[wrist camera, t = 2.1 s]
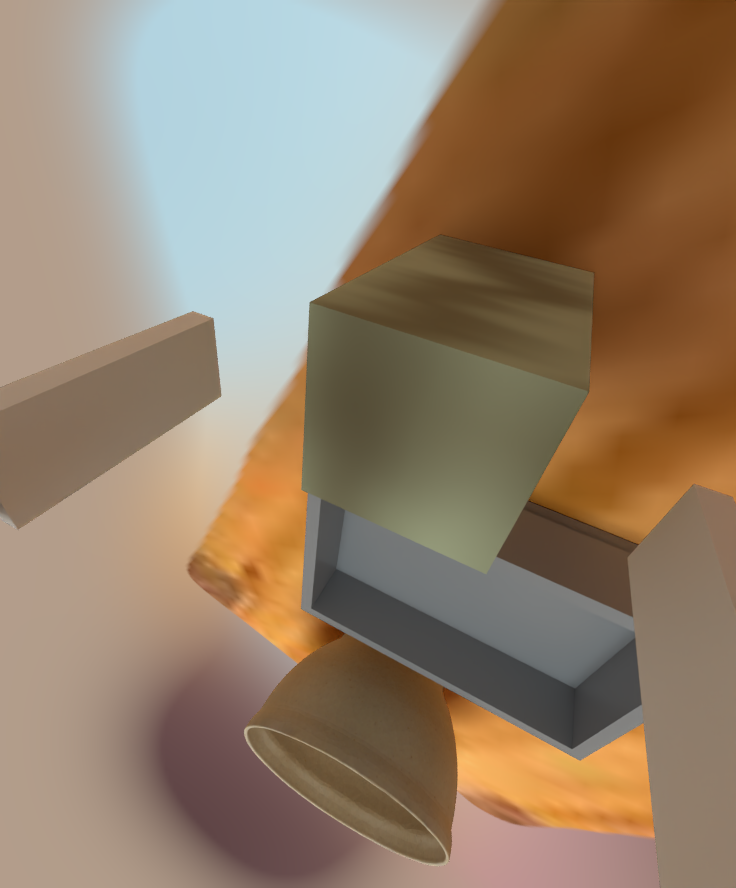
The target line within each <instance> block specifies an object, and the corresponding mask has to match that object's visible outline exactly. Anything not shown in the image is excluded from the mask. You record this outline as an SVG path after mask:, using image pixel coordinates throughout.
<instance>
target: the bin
mask: <svg viewBox="0 0 736 888" xmlns="http://www.w3.org/2000/svg"><path fill="white" fill-rule="evenodd" d="M637 546H638V545H637V544H634V543H632V542H629V541H627V540H624V539H622V538H619V537H617V536H614V535H612V534H609V533H607V532H604V531H602V530H599V529H597V528H594V527H592V526H589V525H587V524H584V523H582V522H579V521H577V520H574V519H572V518H569V517H567V516H564V515H562V514H559V513H557V512H554V511H552V510H549V509H547V508H544V507H542V506H539V505H537V504H534V503H532V502H529V501H527V503H526V505H525V506H524V508H523V510H522V512H521V513H520V515H519V517H518V519H517V521H516V522H515V524H514V526H513V528H512V529H511V531H510V533H509V535H508V537H507V538H506V540H505V542H504V544H503V545H502V547H501V549H500V551H499V553H498V554H497V556H496V558H495V560H494V561H493V563H492V565H491V567H490V568H489V570H488V572H487V574H484V573H482V572H480V571H478V570H476V569H473V568H471V567H469V566H467V565H465V564H462V563H460V562H458V561H456V560H454V559H451V558H449V557H447V556H445V555H443V554H441V553H438V552H436V551H434V550H432V549H430V548H427V547H425V546H423V545H421V544H419V543H416V542H414V541H412V540H410V539H408V538H406V537H403V536H401V535H399V534H397V533H395V532H392V531H390V530H388V529H386V528H384V527H381V526H379V525H377V524H375V523H373V522H371V521H368V520H366V519H364V518H362V517H360V516H357V515H355V514H353V513H351V512H349V511H347V510H344V509H342V508H340V507H338V506H336V505H333V504H331V503H329V502H327V501H325V500H322V499H320V498H318V497H316V496H314V495H312V494H309V493H308V501H307V518H306V535H305V552H304V569H303V586H302V603H301V609H302V610H304V611H306V612H308V613H309V614H311V615H313V616H315V617H317V618H319V619H320V620H322V621H324V622H326V623H328V624H330V625H331V626H333V627H335V628H337V629H339V630H341V631H343V632H344V633H346V634H348V635H350V636H352V637H354V638H355V639H357V640H359V641H361V642H363V643H365V644H366V645H368V646H370V647H372V648H374V649H376V650H377V651H379V652H381V653H383V654H385V655H387V656H388V657H390V658H392V659H394V660H396V661H398V662H399V663H401V664H403V665H405V666H407V667H409V668H411V669H412V670H414V671H416V672H418V673H420V674H422V675H423V676H425V677H427V678H429V679H431V680H433V681H434V682H436V683H438V684H440V685H442V686H444V687H445V688H447V689H449V690H451V691H453V692H455V693H456V694H458V695H460V696H462V697H464V698H466V699H467V700H469V701H471V702H473V703H475V704H477V705H479V706H480V707H482V708H484V709H486V710H488V711H490V712H491V713H493V714H495V715H497V716H499V717H501V718H502V719H504V720H506V721H508V722H510V723H512V724H513V725H515V726H517V727H519V728H521V729H523V730H524V731H526V732H528V733H530V734H532V735H534V736H535V737H537V738H539V739H541V740H543V741H545V742H547V743H548V744H550V745H552V746H554V747H556V748H558V749H559V750H561V751H563V752H565V753H567V754H569V755H570V756H572V757H574V758H576V759H578V760H582V759H583V758H585V757H587V756H588V755H590V754H592V753H593V752H595V751H597V750H599V749H600V748H602V747H604V746H605V745H607V744H609V743H610V742H612V741H614V740H615V739H617V738H619V737H620V736H622V735H624V734H626V733H627V732H629V731H631V730H632V729H634V728H636V727H637V726H639V725H641V724H642V723H644V721H643V711H642V701H641V691H640V681H639V670H638V660H637V650H636V640H635V630H634V620H633V610H632V600H631V589H630V579H629V569H628V559H627V558H628V556H629V555H630V554H631V553H632V552H633V551H634V550H635V549H636V548H637Z"/></svg>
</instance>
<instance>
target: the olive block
mask: <svg viewBox="0 0 736 888" xmlns="http://www.w3.org/2000/svg"><path fill="white" fill-rule="evenodd" d="M593 292H594V273H593V272H589V271H585V270H581V269H577V268H573V267H569V266H565V265H561V264H557V263H553V262H549V261H545V260H541V259H537V258H533V257H529V256H525V255H521V254H517V253H513V252H508V251H504V250H500V249H496V248H492V247H488V246H484V245H480V244H476V243H472V242H468V241H464V240H460V239H456V238H452V237H448V236H444V235H438V236H436V237H434V238H433V239H431V240H429V241H427V242H425V243H423V244H421V245H419V246H417V247H415V248H413V249H411V250H409V251H407V252H406V253H404V254H402V255H400V256H398V257H396V258H394V259H392V260H390V261H388V262H386V263H384V264H382V265H381V266H379V267H377V268H375V269H373V270H371V271H369V272H367V273H365V274H363V275H361V276H359V277H357V278H356V279H354V280H352V281H350V282H348V283H346V284H344V285H342V286H340V287H338V288H336V289H334V290H332V291H330V292H329V293H327V294H325V295H323V296H321V297H319V298H317V299H315V300H313V301H311V302H310V308H309V329H308V352H307V375H306V398H305V421H304V444H303V467H302V490H303V491H305V492H307V493H309V494H312V495H314V496H316V497H318V498H320V499H322V500H325V501H327V502H329V503H331V504H333V505H336V506H338V507H340V508H342V509H344V510H347V511H349V512H351V513H353V514H355V515H357V516H360V517H362V518H364V519H366V520H368V521H371V522H373V523H375V524H377V525H379V526H381V527H384V528H386V529H388V530H390V531H392V532H395V533H397V534H399V535H401V536H403V537H406V538H408V539H410V540H412V541H414V542H416V543H419V544H421V545H423V546H425V547H427V548H430V549H432V550H434V551H436V552H438V553H441V554H443V555H445V556H447V557H449V558H451V559H454V560H456V561H458V562H460V563H462V564H465V565H467V566H469V567H471V568H473V569H476V570H478V571H480V572H482V573H484V574H487V572H488V570H489V568H490V567H491V565H492V563H493V561H494V560H495V558H496V556H497V554H498V553H499V551H500V549H501V547H502V545H503V544H504V542H505V540H506V538H507V537H508V535H509V533H510V531H511V529H512V528H513V526H514V524H515V522H516V521H517V519H518V517H519V515H520V513H521V512H522V510H523V508H524V506H525V505H526V503H527V501H528V499H529V498H530V496H531V494H532V492H533V490H534V489H535V487H536V485H537V483H538V482H539V480H540V478H541V476H542V474H543V473H544V471H545V469H546V467H547V466H548V464H549V462H550V460H551V458H552V457H553V455H554V453H555V451H556V450H557V448H558V446H559V444H560V443H561V441H562V439H563V437H564V435H565V434H566V432H567V430H568V428H569V427H570V425H571V423H572V421H573V419H574V418H575V416H576V414H577V412H578V411H579V409H580V407H581V405H582V403H583V402H584V400H585V398H586V396H587V395H588V393H589V384H590V361H591V338H592V315H593Z"/></svg>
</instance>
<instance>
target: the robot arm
mask: <svg viewBox="0 0 736 888" xmlns="http://www.w3.org/2000/svg"><path fill="white" fill-rule="evenodd" d="M219 397H221V388H220V378H219V368H218V358H217V349H216V340H215V330H214V320H213V318H211V317H208V316H205V315H202V314H199V313H196V312H193V311H192V312H190V313H187V314H185V315H182V316H180V317H177V318H175V319H172V320H170V321H167V322H164V323H162V324H159V325H157V326H154V327H152V328H149V329H147V330H144V331H142V332H139V333H136V334H134V335H132V336H129V337H126V338H124V339H121V340H119V341H116V342H114V343H111V344H109V345H106V346H103V347H101V348H98V349H96V350H93V351H91V352H88V353H86V354H83V355H81V356H78V357H76V358H73V359H71V360H68V361H65V362H63V363H60V364H58V365H55V366H53V367H50V368H48V369H45V370H43V371H40V372H38V373H35V374H32V375H30V376H27V377H25V378H22V379H20V380H17V381H15V382H12V383H10V384H7V385H5V386H2V387H0V520H2V521H4V522H5V523H7V524H9V525H11V526H12V527H14V528H16V529H20V528H21V527H23V526H24V525H26V524H27V523H29V522H30V521H32V520H33V519H35V518H36V517H38V516H40V515H41V514H43V513H44V512H46V511H47V510H49V509H50V508H52V507H53V506H55V505H56V504H58V503H59V502H61V501H62V500H63V499H65V498H67V497H68V496H70V495H72V494H73V493H75V492H76V491H78V490H79V489H81V488H82V487H84V486H85V485H87V484H88V483H90V482H91V481H93V480H94V479H96V478H97V477H99V476H100V475H102V474H103V473H105V472H107V471H108V470H110V469H111V468H113V467H114V466H116V465H117V464H119V463H120V462H122V461H123V460H125V459H126V458H128V457H129V456H131V455H132V454H134V453H135V452H137V451H139V450H140V449H141V448H143V447H144V446H146V445H148V444H149V443H151V442H152V441H154V440H155V439H157V438H158V437H160V436H161V435H163V434H164V433H166V432H167V431H169V430H171V429H172V428H173V427H175V426H176V425H178V424H180V423H181V422H183V421H184V420H186V419H187V418H189V417H190V416H192V415H193V414H195V413H196V412H198V411H199V410H201V409H202V408H204V407H206V406H207V405H209V404H210V403H212V402H213V401H215V400H216V399H218V398H219ZM627 559H628V569H629V579H630V589H631V600H632V610H633V620H634V630H635V640H636V650H637V660H638V670H639V681H640V691H641V701H642V711H643V721H644V731H645V741H646V751H647V762H648V772H649V782H650V792H651V802H652V812H653V822H654V832H655V842H656V853H657V863H658V873H659V882H660V888H736V504H735V502H734V499H733V497H731V496H728V495H725V494H722V493H719V492H716V491H713V490H710V489H708V488H705V487H702V486H699V485H696V484H693V485H692V487H691V488H690V489H689V490H688V491H687V492H686V493H685V494H684V495H683V497H682V498H681V499H680V500H679V501H678V502H677V503H676V504H675V505H674V507H673V508H672V509H671V510H670V511H669V512H668V513H667V514H666V515H665V516H664V518H663V519H662V520H661V521H660V522H659V523H658V524H657V525H656V526H655V528H654V529H653V530H652V531H651V532H650V533H649V534H648V535H647V536H646V538H645V539H644V540H643V541H642V542H641V543H640V544H639V545H638V546H637V548H636V549H635V550H634V551H633V552H632V553H631V554H630V555H629V556H628V558H627Z"/></svg>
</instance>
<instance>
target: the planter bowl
mask: <svg viewBox="0 0 736 888" xmlns="http://www.w3.org/2000/svg"><path fill="white" fill-rule="evenodd" d="M443 688H444V686H442V685H440V684H438V683H436V682H434V681H433V680H431V679H429V678H427V677H425V676H423V675H422V674H420V673H418V672H416V671H414V670H412V669H411V668H409V667H407V666H405V665H403V664H401V663H399V662H398V661H396V660H394V659H392V658H390V657H388V656H387V655H385V654H383V653H381V652H379V651H377V650H376V649H374V648H372V647H370V646H368V645H366V644H365V643H363V642H361V641H359V640H357V639H355V638H354V637H352V636H350V635H348V634H346V633H345V634H344V635H343V636H342V637H341V638H340V639H337V640H335V641H332V642H330V643H328V644H326V645H324V646H322V647H321V648H319V649H317V650H316V651H314V652H313V653H311V654H310V655H309V656H307V657H306V658H305V659H303V660H302V661H301V662H300V663H298V664H297V665H296V666H295V667H294V668H293V669H292V670H291V671H290V672H289V673H288V674H287V675H286V676H285V677H284V678H283V679H282V681H281V682H280V683H279V684H278V685H277V686H276V688H275V689H274V690H273V692H272V693H271V695H270V696H269V698H268V699H267V700H266V702H265V704H264V705H263V707H262V708H261V710H260V711H259V712H258V713H257V714H256V715H255V716H254V717H253V718H252V719H251V720H250V722H249V723H248V725H247V726H246V728H245V730H244V735H245V738H246V741H247V743H248V745H249V746H250V748H251V749H252V751H253V752H254V753H255V754H256V755H257V756H258V758H260V760H261V761H262V762H263V763H264V764H265V765H266V766H267V767H268V768H269V769H270V770H271V771H272V772H273V773H274V774H275V775H276V776H278V777H279V778H280V779H281V780H282V781H283V782H285V783H286V784H287V785H288V786H289V787H291V788H292V789H293V790H294V791H296V792H297V793H298V794H299V795H301V796H302V797H304V798H305V799H306V800H308V801H309V802H310V803H312V804H313V805H314V806H316V807H318V808H319V809H320V810H322V811H323V812H325V813H326V814H328V815H329V816H331V817H333V818H334V819H336V820H337V821H339V822H341V823H342V824H344V825H345V826H347V827H349V828H350V829H352V830H354V831H356V832H357V833H359V834H360V835H362V836H364V837H366V838H368V839H369V840H371V841H373V842H375V843H376V844H378V845H380V846H382V847H384V848H386V849H388V850H390V851H392V852H394V853H396V854H398V855H400V856H403V857H405V858H408V859H410V860H414V861H416V862H419V863H422V864H425V865H431V866H443V865H446V864H447V863H448V862H449V859H450V853H451V846H452V837H451V836H452V835H451V827H452V822H453V817H454V811H455V803H456V794H457V754H456V743H455V736H454V730H453V725H452V721H451V717H450V713H449V709H448V706H447V703H446V700H445V697H444V695H443Z"/></svg>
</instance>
